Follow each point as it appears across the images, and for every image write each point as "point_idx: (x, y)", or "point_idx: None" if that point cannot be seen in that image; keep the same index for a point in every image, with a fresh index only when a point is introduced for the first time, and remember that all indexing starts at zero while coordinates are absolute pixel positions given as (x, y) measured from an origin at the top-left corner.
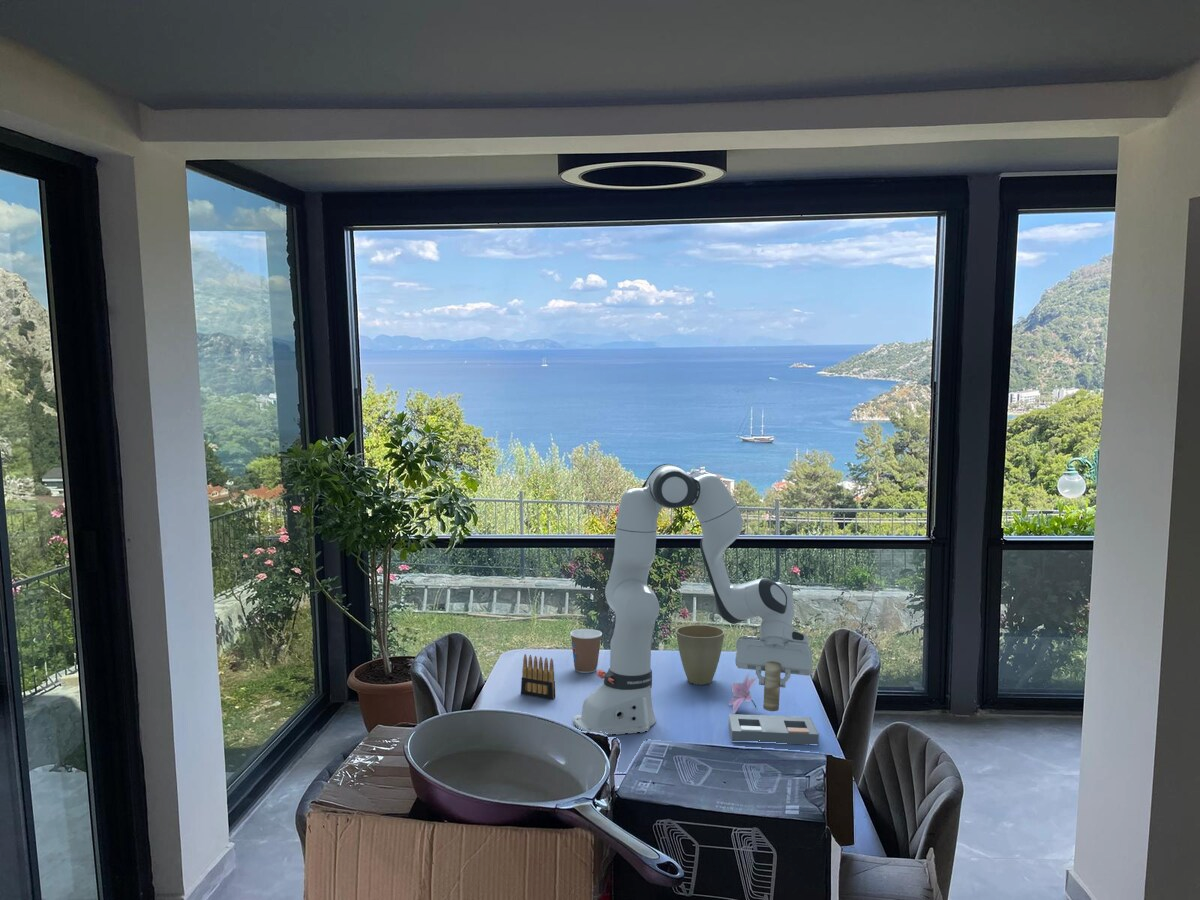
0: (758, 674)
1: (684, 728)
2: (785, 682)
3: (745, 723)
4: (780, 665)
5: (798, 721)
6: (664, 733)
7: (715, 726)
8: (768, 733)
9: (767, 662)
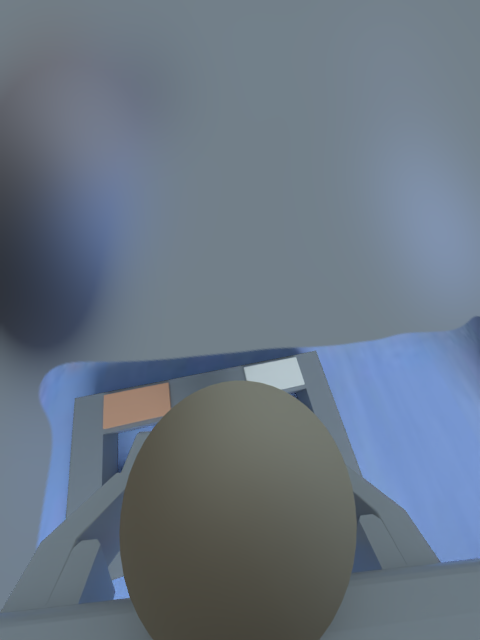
0: (348, 467)
1: (433, 412)
2: (133, 444)
3: None
4: (134, 467)
5: None
6: (451, 366)
7: (375, 457)
8: (225, 369)
9: (332, 527)
